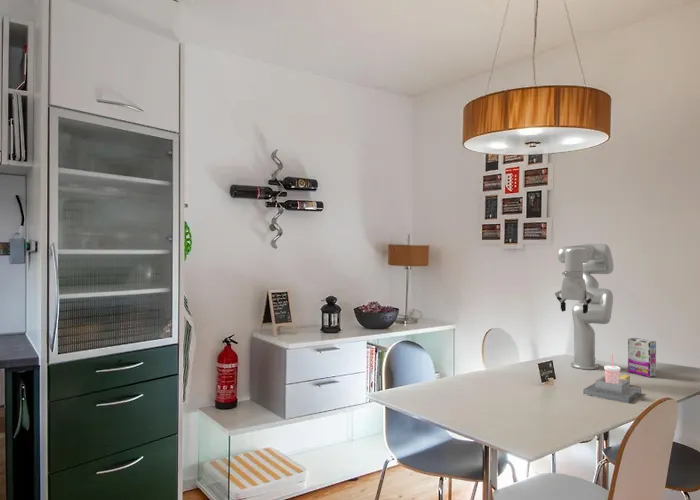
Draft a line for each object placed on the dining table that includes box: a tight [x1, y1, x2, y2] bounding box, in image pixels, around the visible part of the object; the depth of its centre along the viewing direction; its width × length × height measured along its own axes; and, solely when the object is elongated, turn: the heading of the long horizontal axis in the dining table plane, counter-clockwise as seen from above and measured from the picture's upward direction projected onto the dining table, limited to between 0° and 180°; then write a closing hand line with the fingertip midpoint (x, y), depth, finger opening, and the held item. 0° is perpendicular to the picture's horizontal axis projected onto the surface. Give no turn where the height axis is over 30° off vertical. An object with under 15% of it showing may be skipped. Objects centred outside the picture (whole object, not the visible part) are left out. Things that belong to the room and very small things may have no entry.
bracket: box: [619, 374, 631, 386], centre depth 221 cm, size 14×8×6 cm, turn 136°
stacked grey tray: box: [583, 375, 642, 404], centre depth 213 cm, size 17×17×6 cm
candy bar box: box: [627, 337, 657, 378], centre depth 243 cm, size 11×5×16 cm, turn 25°
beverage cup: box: [603, 354, 621, 384], centre depth 213 cm, size 6×6×14 cm
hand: (574, 312), depth 238 cm, fingers open, 9 cm apart
